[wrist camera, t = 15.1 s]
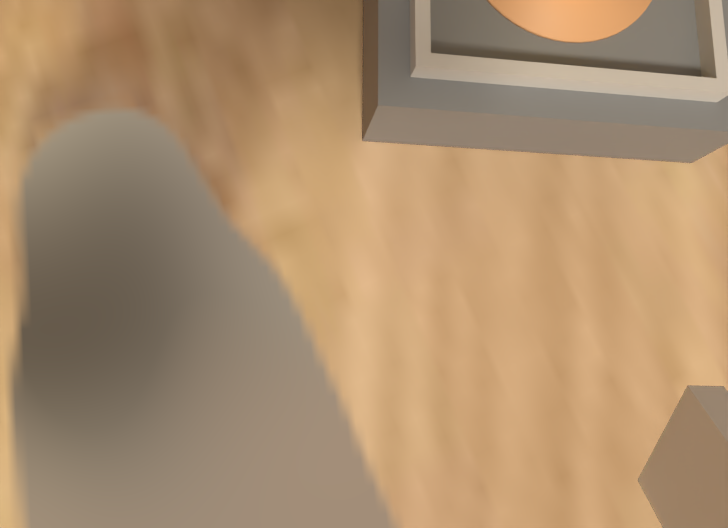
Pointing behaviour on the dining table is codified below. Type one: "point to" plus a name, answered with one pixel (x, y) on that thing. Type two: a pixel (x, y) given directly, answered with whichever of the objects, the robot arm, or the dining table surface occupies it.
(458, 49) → the grey square tray
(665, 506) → the robot arm
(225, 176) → the dining table surface
